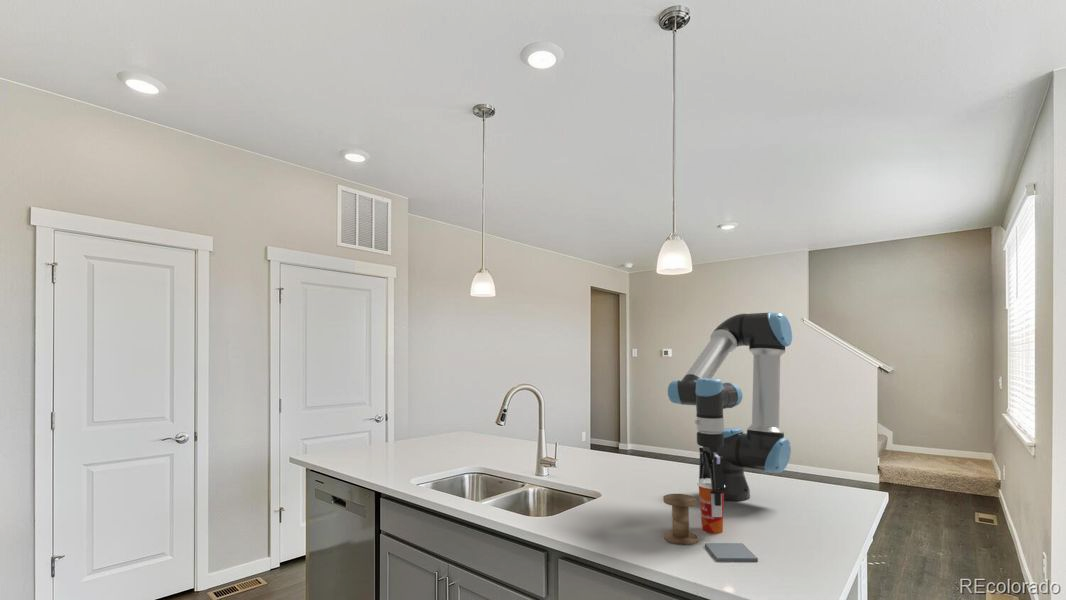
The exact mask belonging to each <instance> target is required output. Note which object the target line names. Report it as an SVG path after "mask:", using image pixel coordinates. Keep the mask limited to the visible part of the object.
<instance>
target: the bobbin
mask: <svg viewBox="0 0 1066 600" xmlns="http://www.w3.org/2000/svg"><path fill="white" fill-rule="evenodd" d="M662 498H663V499H662V500H663V503H664V504H666V505H669V506H671V525H672V527H671V528H672V529H670V530H666V531H664V533H663V539H664V540H665V541H666V542H667V543H670V544H673V545H676V546H693V545H696V544H698V542H699V537H698V535H697V534H696V533H695V532H692V531H690V516H689V515H690V509H689V508H691V507H695V506H696V505H698V499H697V497H695V496H693V495H691V494H686V493H669V494H665V495H664V496H663V497H662Z"/></svg>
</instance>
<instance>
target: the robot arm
mask: <svg viewBox="0 0 1066 600" xmlns="http://www.w3.org/2000/svg"><path fill="white" fill-rule="evenodd" d="M792 341H793V332H792V327H791V324H790V321H789V319H788V317H787V316H786V315H785V314H783V313H780V312H758V313H756V312H755V313H739V314H735V315H733V316H731V317H729V318H727V319H726V320H723V321H722V322H721V323H720V324H719V325H717V327H716V328H715V329H714V330H713V331H712V333H711V335H710V339H709V342H708V343H707V345H706V346H705V347H704V348H703V350H702V352H701V353H700V354H699V355H698V357H697V359H696V360H695V361H694V363H693V364H692V365H691V367H690V368H689V370H688V371H687V372H686V374H685V375H684V376H683V378H682V379H681V380H679V379H677V380H672V381H670V383H669V384H668V386H667V396H668V400H669V401H670V402H671V403H673V404H678V405H682V406H683V405H684V406H685V405H686V406H695V407H696V414H695V415H696V419H695V420H694V424H696V431H697V432H696V444H697V446H699V448H698V450H699V467H698V468H699V470H698V471H699V472H698V473H699V474H698V475H699V476H698V480H699V479H701V478H704V479H705V478H709V479H710V478H711V485H712V491H710V494H711V507H712V517H722V493H724V501H746V500H748V499H749V498H750V497H751V490H750V489H751V488H750V486H749V484H748V481H747V478H746V476H745V469H748V470H749V469H750V470H755V471H760V472H765V473H773V474H774V473H775V474H780V473H782V472H784V471H785V469H786V468H787V466H788V464H789V462H790V458H791V457H790V456H791V453H792V452H791V451H792V449H791V448H792V447H791V442H790V440H789V439H788V438H786V437H785V432H784V431H783V429H781V428H780V403H781V401H780V398H781V397H780V396H781V395H780V393H781V392H780V388H781V383H780V382H781V357H782V356H783V355H784V354H785V353H786V347H790V346H791V345H792ZM742 346H743V347H744V346H746V347H748V351H749V352H750V353H752V355H753V360H752V363H753V369H752V372H753V373H752V375H753V376H752V403H751V405H752V406H751V407H752V408H751V409H752V411H751V424H750V426H748V427H747V428H746V433H744V430H743V428H741V427H724V426H725V425H724V423H725V422H724V410H725V409H733V408H734V407H737V406H738V405H740V404H741V402H742V400H743V395H744V394H743V391H742V389H741V388H740V386H739V385H738V384H735V383H733V382H723V381H722V380H721V379H720V378H716V377H715V378H713V377H714V376H715V374H716V373H717V371H718V370H719V368H720V367H721V365H722V364H723V362H724V361H725V359H726V358H727V356H728V355H729V354H730V353H732V352H734V351H735V349H737V347H742ZM724 485H725V488H724ZM718 488H719V489H718Z"/></svg>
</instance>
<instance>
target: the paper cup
mask: <svg viewBox="0 0 1066 600" xmlns="http://www.w3.org/2000/svg"><path fill="white" fill-rule="evenodd" d="M697 486H698V493H699V495H698V497H699V505H700V506H699V508H700V517H701V518H700V519H701V520H700V521H701V530H702V531H703V532H705V533H708V534H717V535H718V534H722V533H723V530H724V507H725V505H724V504H725V503H724V502H725V500H724V493H722V517H712V507H711V494H710V491H712V485H711V478H710V479H709V478H705V479H704V478H701V479H699V478H698V483H697ZM724 488H725V485H724ZM718 489H719V488H718Z"/></svg>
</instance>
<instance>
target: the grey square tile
mask: <svg viewBox="0 0 1066 600" xmlns="http://www.w3.org/2000/svg"><path fill="white" fill-rule="evenodd" d="M704 547H705V548H706V549H707V551H708V552H709V553H710V554H711V556H712V557H713V558H714V559H715V560H716V561H717V563H718V562H721V563H723V562H724V563H725V562H737V563H738V562H748V563H749V562H750V563H751V562H754V563H755V562H759V558H758V557H757V555H755V554H754V553H753V552H752V551H751V550H750V549H749V548H748V547H747V546H746V545H745V544H744V543H743V542H705V543H704Z"/></svg>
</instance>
